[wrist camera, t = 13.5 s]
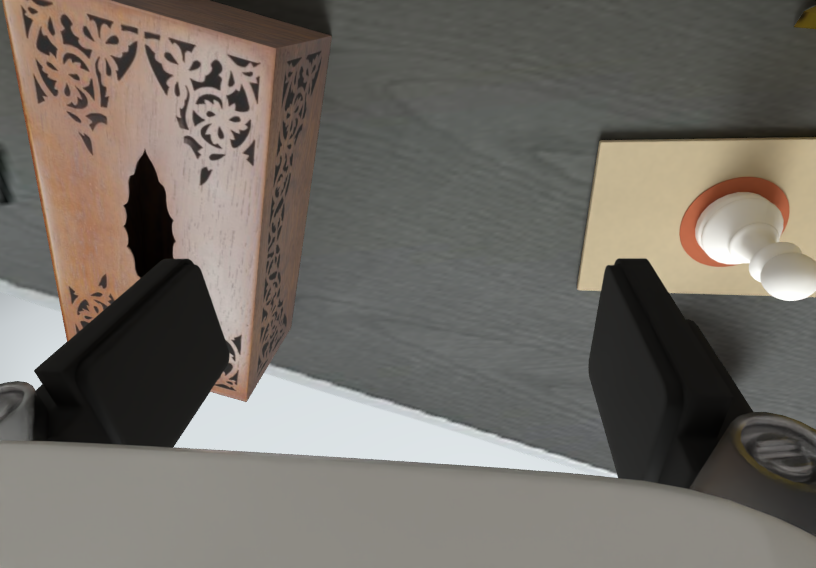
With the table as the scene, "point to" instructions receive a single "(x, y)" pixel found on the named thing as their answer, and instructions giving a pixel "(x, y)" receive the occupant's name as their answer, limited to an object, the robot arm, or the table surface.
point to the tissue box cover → (173, 155)
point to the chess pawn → (756, 244)
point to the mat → (692, 205)
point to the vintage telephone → (807, 19)
